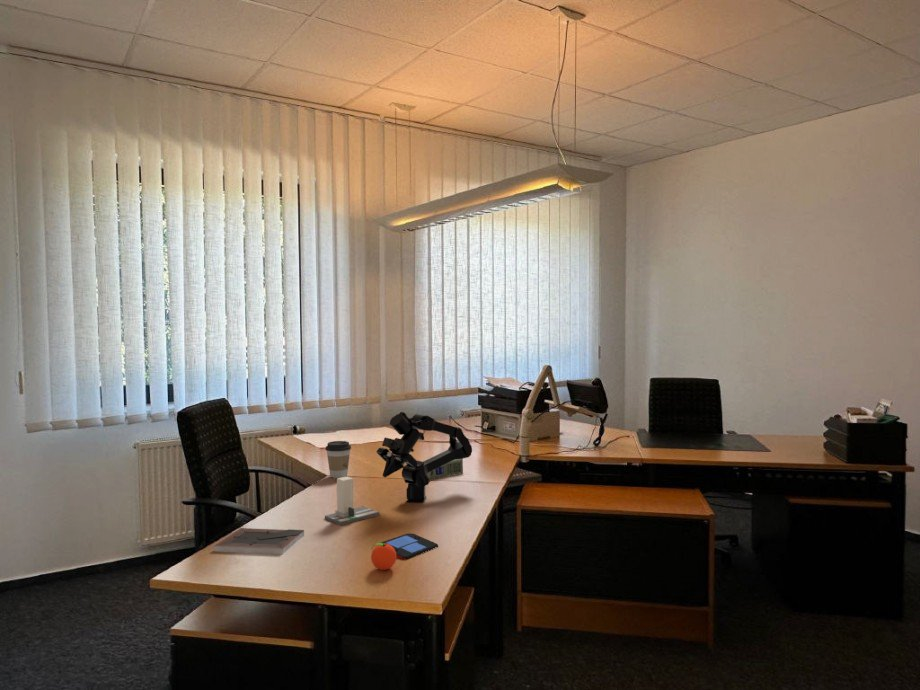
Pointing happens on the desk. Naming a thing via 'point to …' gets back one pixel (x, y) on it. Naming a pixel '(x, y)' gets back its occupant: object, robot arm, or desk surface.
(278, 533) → the picture frame
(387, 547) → the clementine
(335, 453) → the coffee cup
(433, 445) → the desk surface
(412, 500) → the robot arm
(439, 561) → the desk surface
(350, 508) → the white tall block
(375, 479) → the desk surface
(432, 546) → the game console
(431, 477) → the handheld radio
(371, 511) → the board
